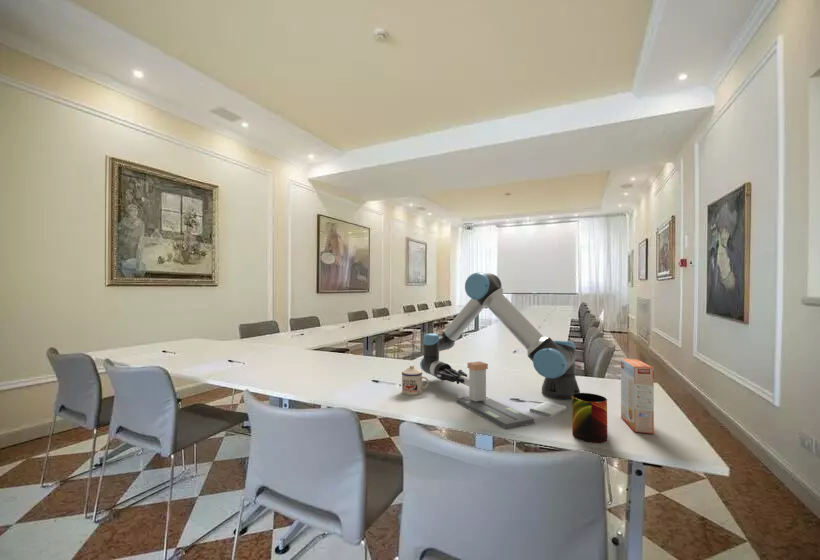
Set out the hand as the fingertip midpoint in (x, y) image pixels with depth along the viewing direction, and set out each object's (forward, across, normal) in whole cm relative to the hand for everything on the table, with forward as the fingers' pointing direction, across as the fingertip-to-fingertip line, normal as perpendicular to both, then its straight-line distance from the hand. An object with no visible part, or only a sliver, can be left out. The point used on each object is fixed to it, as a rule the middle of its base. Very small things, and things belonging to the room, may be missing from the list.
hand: (470, 382), depth 144 cm
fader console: (+13, 0, -7) cm, 15 cm away
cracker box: (+44, -36, -8) cm, 57 cm away
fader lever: (+4, 0, -5) cm, 7 cm away
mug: (+42, -15, -8) cm, 46 cm away
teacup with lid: (-20, +15, -8) cm, 26 cm away
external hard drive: (+21, -21, -8) cm, 30 cm away
